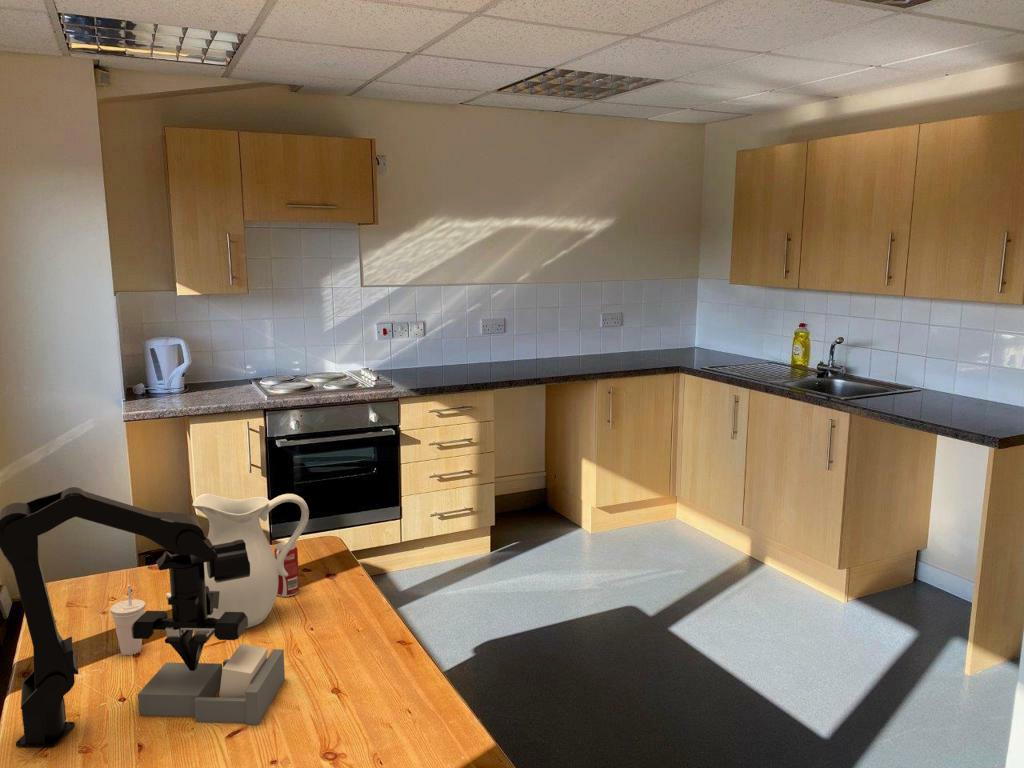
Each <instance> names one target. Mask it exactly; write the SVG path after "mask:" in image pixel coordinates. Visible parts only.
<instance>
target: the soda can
mask: <svg viewBox="0 0 1024 768" xmlns="http://www.w3.org/2000/svg"><path fill="white" fill-rule="evenodd" d="M288 541H289V540H288ZM288 541H281V542H278V543H277V544H275V547H274V548H275V549H274V551H273V553H274V556H275V559H277V557H278V555H279V554H280V552H281V551H282V549H283V548H284V546H285V545H286V543H287V542H288ZM284 568H285V570H286V572H287V573H288V576H286V577H285V576H281V575H278V592H277V596H278V597H279V596H281V597H280V598H290V597H289V596H292V597H294V596H293V595H295V594H296V595H298V593H299V592H300V581H299V580H300V579H299V576H300V575H299V554H298V547H297V543H296V542H295V543H294V545H293V546H292V547H291V549H290V550H289V552H288V553H287V555H286V557H285V559H284ZM296 595H295V596H296Z"/></svg>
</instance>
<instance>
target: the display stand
mask: <svg viewBox="0 0 1024 768" xmlns="http://www.w3.org/2000/svg"><path fill="white" fill-rule="evenodd" d="M284 652H285V651H284V649H281V648H280V649H278V648H277V649H276V648H274V649H273V648H272V650H271V652H270V653H269V654H268V655H267V659H266V661H265V662H264V664H263V665H262V667H261V669H260V670H259V672H258V673H257V675H256V676H255V678H254V679H253V681H252V682H251V684H250V685H249V687H248V689H247V690H246V692H245V698H219V697H215V696H216V694H217V693H218V691H220V685H221V677H222V669H223V667H224V666H225V665H226V663H227V662H228V661H229V659H224V660H223V662H222V663H219V662H218V663H215V662H213V663H212V662H210V663H209V662H208V663H207V662H198V666H197V668H196V670H195V671H190V670H189V668H188V667H187V665H186V664H185V662H170V661H169V662H167V661H166V662H165V663H164V664H163V665H162V667H160V668H159V669H158V671H157V672H156V673H155V674H154V675H153V676H152V678H151V679H149V681H148V682H147V683H146V684H145V685H144V686H143V687H142V689H141V690H140V691H139V692H138V693H137V703H138V704H137V705H138V714H139V715H138V716H145V717H147V716H148V717H183V718H184V717H187V718H189V717H190V718H191V717H192V718H194V717H195V723H226V724H227V723H228V724H229V723H232V724H233V723H234V724H238V723H239V724H246V726H251V725H252V726H259V725H260V722H261V721H262V720H263V718H264V716H265V715H266V713H267V711H268V709H269V708H270V705H272V702H274V700H275V697H276V695H277V693H278V692H279V690H280V688H281V687H282V685H283V683H284V681H285V679H286V676H285V674H286V673H285V653H284Z"/></svg>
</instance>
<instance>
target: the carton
mask: <svg viewBox="0 0 1024 768" xmlns="http://www.w3.org/2000/svg"><path fill="white" fill-rule="evenodd" d="M268 651H269V648H268V647H263V646H256V645H251V644H246V643H245V644H244V643H240V644H239V646H238V647H237V648H236V650H235V651H234V652H233V654H232V655H231V656H230V658H229V659H228V660H229V661H228V662H227V663H226V665H225V666H224V667H223V666H222V677H221V685H220V688H219V696H218V698H245V692H246V690H247V689H248V687H249V685H250V684H251V682H252V681H253V679H254V678H255V676H256V675H257V673H258V672H259V670H260V669H261V667H262V665H263V664H264V662H265V661H266V659H267V658H268Z"/></svg>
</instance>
